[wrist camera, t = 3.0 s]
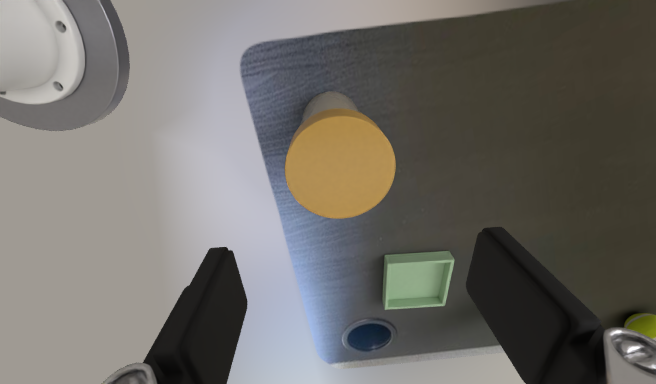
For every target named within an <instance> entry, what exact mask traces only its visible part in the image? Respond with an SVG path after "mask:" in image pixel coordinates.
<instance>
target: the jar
mask: <svg viewBox="0 0 656 384" xmlns="http://www.w3.org/2000/svg"><path fill="white" fill-rule="evenodd" d="M335 108H344V109H350V110H354V111H357V112H359V113H360V111H359V110H358V108H357V107H356V105H355V104H354V103H353V101H352V100H351V99H350V98H348V97H347V96H345V95H344V94H341V93H338V92H324V93H321V94H319V95H317V96H315V97H314V98H313V99H312V100H311V101H310V102H309V103H308V104H307V106H306V108H305V110H304V113H303V118H302V122H301V124H302V123H303V122H304V121H306V120H307V119H308V118H309V117H311V116H313V115H315V114H316V113H319V112H321V111H324V110H328V109H335Z"/></svg>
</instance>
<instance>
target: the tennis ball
mask: <svg viewBox="0 0 656 384" xmlns="http://www.w3.org/2000/svg"><path fill="white" fill-rule="evenodd" d="M624 328H627V329H630V330H633V331H637V332H639V333H641V334H644V335H646V336H648V337H650V338H652V339H653V340H655V341H656V315H653V314H649V313H638V314H634V315H632V316H630V317H629V318H628V319H627V320H626V321H625V324H624Z"/></svg>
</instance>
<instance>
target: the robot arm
mask: <svg viewBox="0 0 656 384" xmlns="http://www.w3.org/2000/svg"><path fill="white" fill-rule="evenodd" d="M84 68H85V51H84V46H83V42H82V37H81V35H80V32H79V30H78V27H77V24H76V22H75V20H74V18H73V17H72V15H71V13H70V11H69V9H68V7H67V6H66V5H65V3H64V2H63V1H62V0H0V97H2V98H5V99H8V100H11V101H14V102H19V103H24V104H45V103H52V102H55V101H59V100H62V99H64V98H66V97H67V96H69V95H70V94H72V93H73V92H74V90H75V89H76V88H77V87H78V86H79V84H80V82H81V80H82V77H83V73H84ZM466 289H467V292H468V294H469V295H470V297H471V298H472V300H473V302H474V303H475V305H476V306H477V308H478V310H479V311H480V313H481V314H482V316H483V318H484V319H485V321H486V322H487V324H488V326H489V327H490V329H491V330H492V332H493V334H494V335H495V337H496V338H497V340H498V342H499V343H500V345H501V346H502V348H503V350H504V351H505V353H506V354H507V356H508V358H509V359H510V361H511V362H512V364H513V366H514V367H515V369H516V370H517V372H518V374H519V375H520V377H521V378H522V380H523V381H524V382H525V383H526V384H656V341H655V340H653V339H652V338H650V337H648V336H646V335H644V334H641V333H639V332H637V331H633V330H630V329H627V328H619V327H614V328H609V329H607V330H605V329H604V328H603V327H602V326H601V325H600V323H601V322H602V321H601V320H600V319H599V318H597V317H596V316H595V315H594V314H593V313H592V312H591V311H590V310H589V309H588V308H587V307H586V306H585V305H584V304H583V303H582V302H581V301H580V300H579V299H577V298H576V297H575V296H574V295H573V294H572V293H571V292H570V291H569V290H568V289H567V288H566V287H565V286H564V285H563V284H562V283H561V282H560V281H558V280H557V279H556V278H555V277H554V276H553V275H552V274H551V273H550V272H549V271H548V270H547V269H546V268H545V267H544V266H543V265H542V264H541V263H540V262H538V261H537V260H536V259H535V258H534V257H533V256H532V255H531V254H530V253H529V252H528V251H527V250H526V249H525V248H524V247H523V246H522V245H521V244H520V243H518V242H517V241H516V240H515V239H514V238H513V237H512V236H511V235H510V234H509V233H508V232H507V231H506V230H505V229H504V228H502V227H491V228H484V229H483V230H482V232H480V233H479V234H478V236H477V240H476V244H475V248H474V252H473V256H472V261H471V265H470V269H469V273H468V277H467V281H466ZM246 310H247V298H246V294H245V291H244V287H243V284H242V281H241V277H240V274H239V270H238V267H237V264H236V260H235V257H234V253H233V251H231V250H230V251H229V250H228V248H227V247H219V248H210V249H209V251H208V253H207V254H206V256H205V258H204V260H203V262H202V263H201V265H200V267H199V269H198V271H197V273H196V274H195V277H194V278H193V280H192V282H191V284H190V285H189V286H187V287H186V288H185V289H184V290H183V292H182V294H181V295H180V297H179V299H178V301H177V303H176V304H175V306H174V308H173V310H172V311H171V313H170V315H169V317H168V319H167V320H166V322H165V324H164V326H163V328H162V329H161V331H160V333H159V335H158V337H157V339H156V340H155V342H154V344H153V346H152V347H151V349H150V351H149V353H148V354H147V356H146V358H145V360H144V362H143V363H134V364H130V365H127V366H125V367H123V368H121V369H119V370H117V371H116V372H115V373H114V374H112V375H111V376H109V377H108V378H107V379H106V380H105V381H104V382H103V383H102V384H227V380H228V376H229V373H230V369H231V365H232V362H233V358H234V354H235V350H236V347H237V343H238V340H239V336H240V332H241V328H242V325H243V321H244V318H245V314H246Z"/></svg>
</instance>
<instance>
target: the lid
mask: <svg viewBox="0 0 656 384" xmlns="http://www.w3.org/2000/svg"><path fill="white" fill-rule="evenodd" d="M394 175H395V156H394V152H393V149H392V147H391V145H390V142H389V141H388V139H387V138H386V136H385V135H384V134H383V133H382V131H381V130H380V129H379V127H378V126H377V125H376V124H375V123H374V122H373V121H372V120H371V119H370V118H368V117H367V116H365V115H363V114H362V113H359V112H357V111H354V110H350V109H344V108H335V109H328V110H324V111H321V112H319V113H316V114H315V115H313V116H311V117H309V118H308V119H307V120H306V121H304V122H303V123H302V124H301V126H300V127H299V128H298V129H297V131H296V132H295V134H294V136H293V138H292V140H291V143H290V146H289V149H288V153H287V156H286V161H285V177H286V181H287V184H288V187H289V189H290V191H291V193H292V195H293V196H294V197H295V199H296V200H297V201H298V202H299V203H300V204H301V205H302V206H303V207H305V208H306V209H307V210H309V211H311V212H313V213H315V214H317V215H320V216H323V217H328V218H349V217H353V216H357V215H360V214H362V213H364V212H366V211H368V210H370V209H371V208H373V207H374V206H375V205H377V204H378V203H379V202H380V201H381V200H382V199H383V198H384V196H385V195H386V194H387V192H388V190H389V189H390V187H391V184H392V182H393V179H394Z"/></svg>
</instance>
